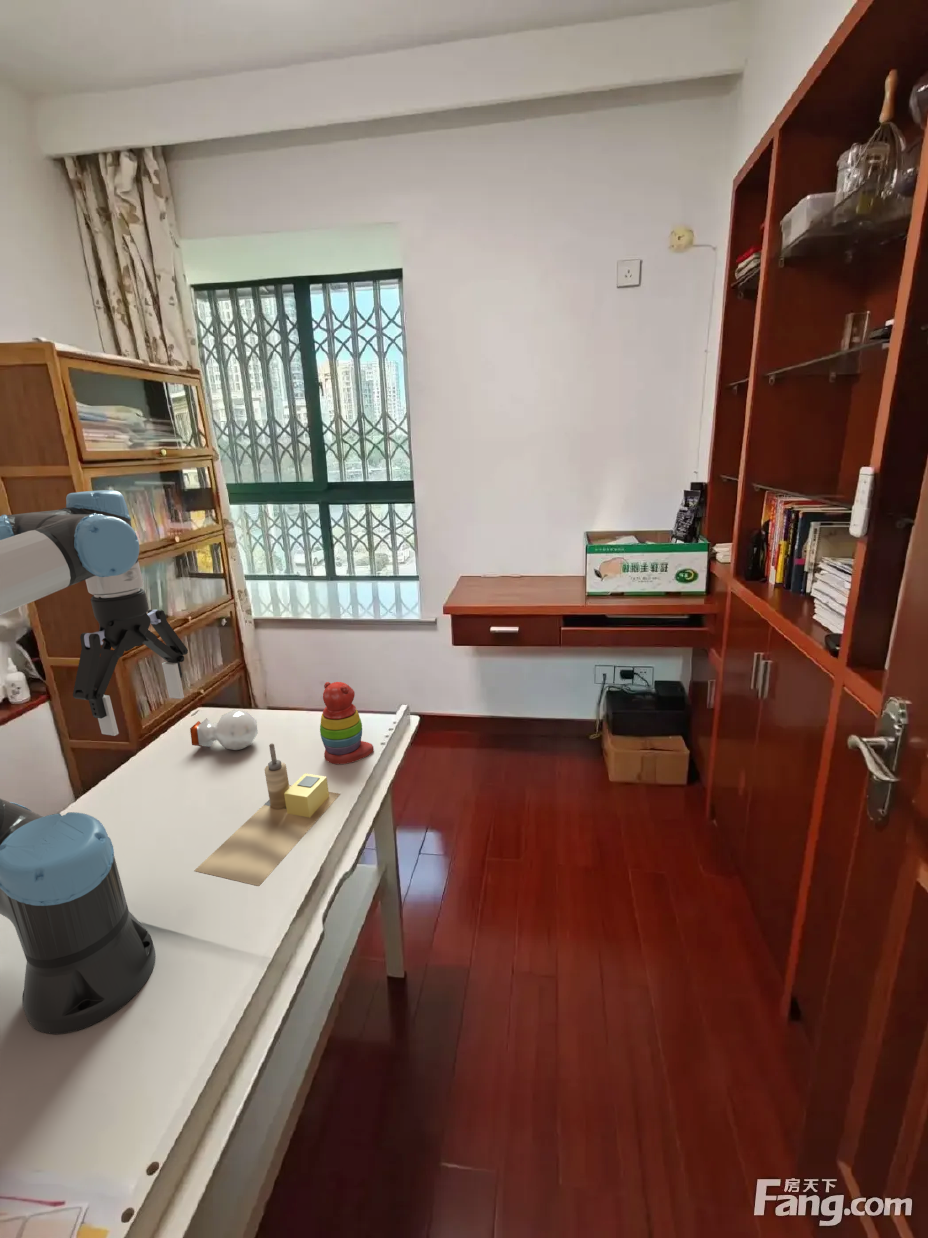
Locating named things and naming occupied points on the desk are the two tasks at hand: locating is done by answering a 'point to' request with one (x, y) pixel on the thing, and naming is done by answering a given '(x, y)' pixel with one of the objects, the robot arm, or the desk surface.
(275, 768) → the awl
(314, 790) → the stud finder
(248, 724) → the potion bottle
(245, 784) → the desk surface
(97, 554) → the robot arm
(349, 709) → the stacking bear
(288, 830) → the board
